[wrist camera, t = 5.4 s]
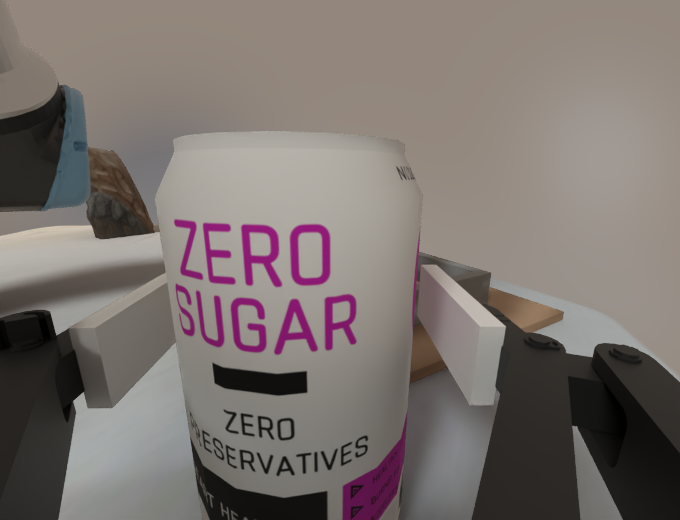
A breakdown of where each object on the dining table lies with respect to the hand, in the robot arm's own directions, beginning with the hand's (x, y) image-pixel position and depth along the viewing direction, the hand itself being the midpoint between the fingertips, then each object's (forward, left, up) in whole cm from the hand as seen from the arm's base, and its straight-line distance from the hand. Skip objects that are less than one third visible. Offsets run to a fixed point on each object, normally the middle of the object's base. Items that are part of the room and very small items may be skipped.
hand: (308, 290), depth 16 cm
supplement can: (+3, -2, -9) cm, 10 cm away
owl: (-79, -14, -9) cm, 80 cm away
